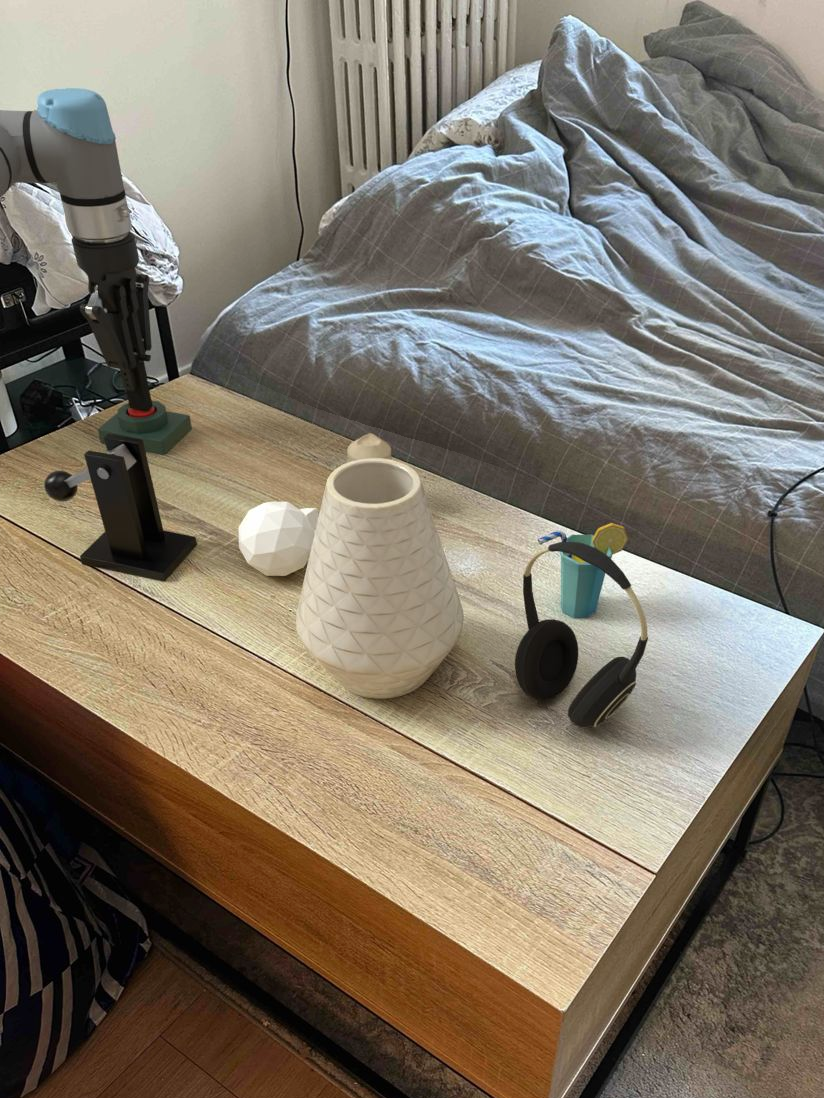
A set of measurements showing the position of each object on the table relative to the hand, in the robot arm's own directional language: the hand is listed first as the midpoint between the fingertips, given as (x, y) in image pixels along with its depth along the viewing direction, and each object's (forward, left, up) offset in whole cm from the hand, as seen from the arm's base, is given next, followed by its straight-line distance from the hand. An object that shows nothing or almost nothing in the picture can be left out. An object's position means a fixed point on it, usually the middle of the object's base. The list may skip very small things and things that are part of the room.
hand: (141, 407), depth 136 cm
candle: (+37, -7, -5) cm, 38 cm away
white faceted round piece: (+32, -22, -5) cm, 39 cm away
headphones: (+70, -36, -5) cm, 79 cm away
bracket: (+14, -26, -5) cm, 30 cm away
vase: (+49, -36, -5) cm, 61 cm away
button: (0, 0, -2) cm, 2 cm away
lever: (+10, -26, +4) cm, 28 cm away
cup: (+67, -20, -5) cm, 70 cm away
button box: (0, 0, -5) cm, 5 cm away
